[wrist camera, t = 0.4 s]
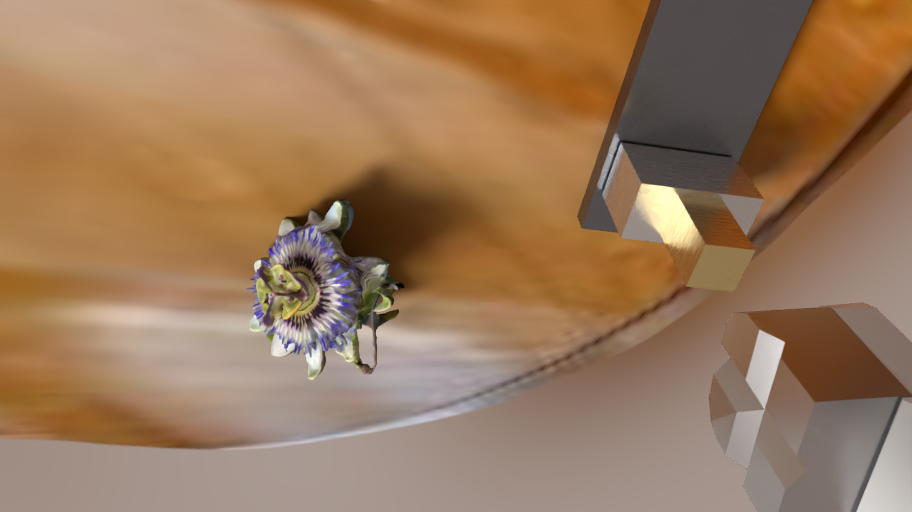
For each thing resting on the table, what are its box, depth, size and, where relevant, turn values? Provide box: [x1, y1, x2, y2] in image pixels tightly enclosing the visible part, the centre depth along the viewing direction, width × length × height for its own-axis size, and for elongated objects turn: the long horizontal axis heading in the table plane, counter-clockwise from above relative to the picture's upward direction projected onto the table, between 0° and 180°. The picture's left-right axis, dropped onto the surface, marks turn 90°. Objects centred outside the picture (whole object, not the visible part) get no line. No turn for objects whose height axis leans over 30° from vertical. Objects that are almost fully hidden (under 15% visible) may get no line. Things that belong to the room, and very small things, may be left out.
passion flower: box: [247, 199, 405, 379], centre depth 54 cm, size 11×11×12 cm
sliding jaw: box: [602, 143, 764, 291], centre depth 49 cm, size 4×8×10 cm, turn 79°
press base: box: [577, 0, 813, 233], centre depth 46 cm, size 26×9×8 cm, turn 169°
